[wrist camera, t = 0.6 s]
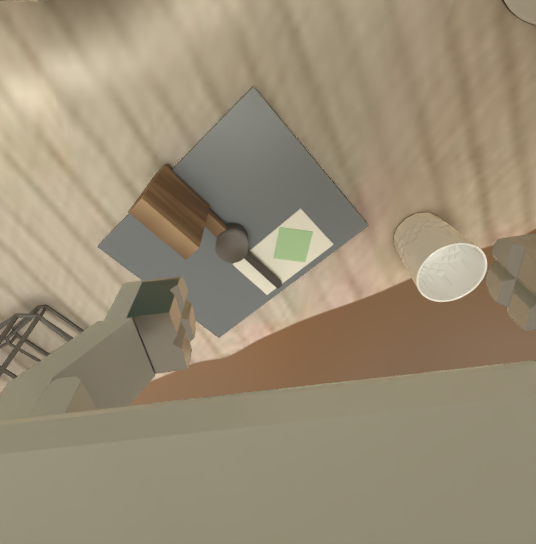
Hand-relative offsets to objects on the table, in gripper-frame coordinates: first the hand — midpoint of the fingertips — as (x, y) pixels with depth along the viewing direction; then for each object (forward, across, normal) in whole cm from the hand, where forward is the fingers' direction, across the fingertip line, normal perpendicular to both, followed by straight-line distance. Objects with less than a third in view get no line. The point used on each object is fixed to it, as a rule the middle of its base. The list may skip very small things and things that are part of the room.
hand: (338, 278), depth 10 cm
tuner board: (+36, +7, +16) cm, 40 cm away
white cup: (+36, -18, +19) cm, 45 cm away
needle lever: (+35, +8, +15) cm, 39 cm away
